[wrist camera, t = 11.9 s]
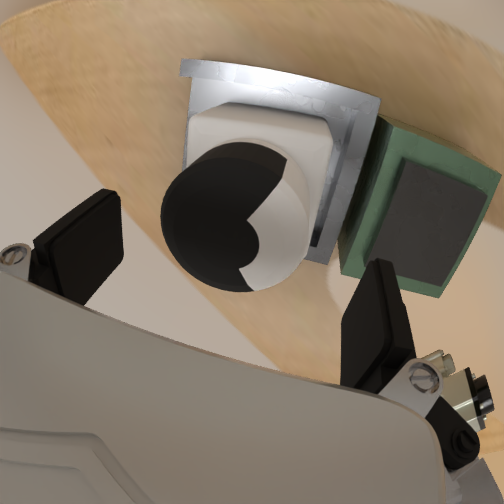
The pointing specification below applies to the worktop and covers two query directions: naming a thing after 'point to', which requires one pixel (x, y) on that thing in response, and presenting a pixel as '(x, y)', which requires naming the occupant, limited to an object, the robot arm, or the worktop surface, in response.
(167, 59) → the worktop surface
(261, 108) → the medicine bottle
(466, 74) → the worktop surface
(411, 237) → the grey and green bracket
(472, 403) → the pneumatic valve
